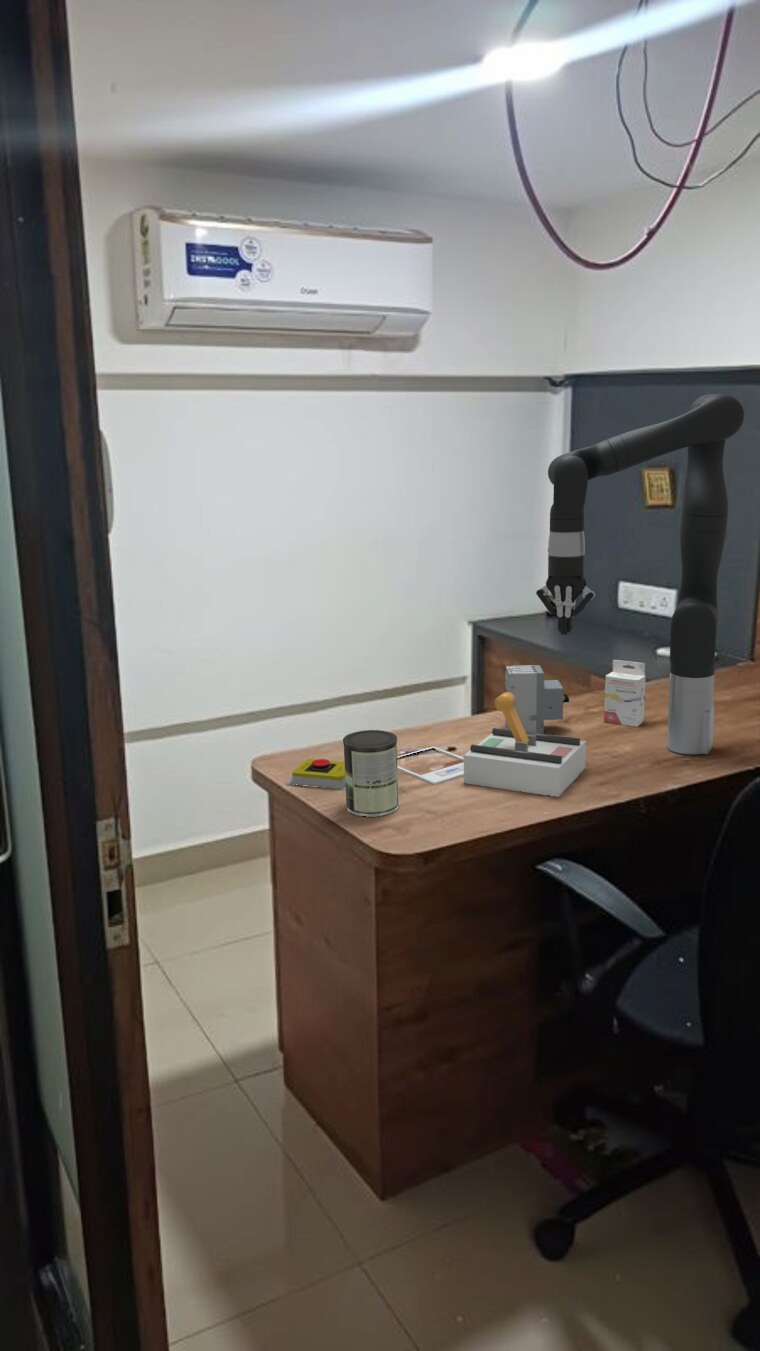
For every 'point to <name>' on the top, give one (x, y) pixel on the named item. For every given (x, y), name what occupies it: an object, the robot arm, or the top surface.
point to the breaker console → (525, 762)
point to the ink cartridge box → (625, 694)
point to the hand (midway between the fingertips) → (565, 633)
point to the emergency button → (320, 774)
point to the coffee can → (371, 773)
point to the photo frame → (441, 774)
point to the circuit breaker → (534, 697)
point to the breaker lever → (511, 715)
